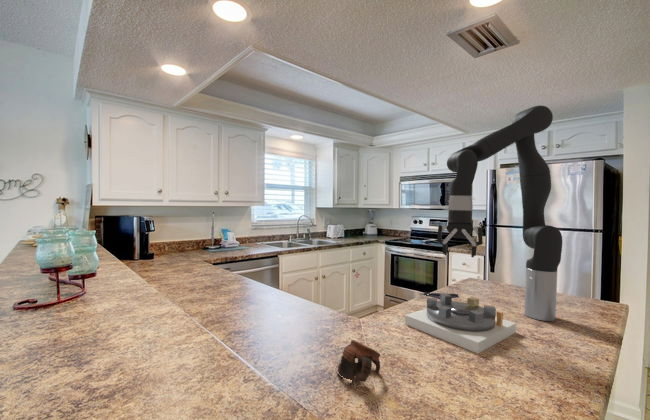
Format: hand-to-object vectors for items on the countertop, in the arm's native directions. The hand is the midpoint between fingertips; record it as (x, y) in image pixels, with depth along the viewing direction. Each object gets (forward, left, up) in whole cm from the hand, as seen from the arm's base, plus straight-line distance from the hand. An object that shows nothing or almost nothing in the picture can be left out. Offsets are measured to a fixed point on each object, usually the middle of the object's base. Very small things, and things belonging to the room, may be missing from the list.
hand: (458, 256), depth 106 cm
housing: (+7, +5, -22) cm, 24 cm away
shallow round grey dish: (+7, +5, -19) cm, 21 cm away
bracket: (-16, -14, -23) cm, 31 cm away
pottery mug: (+52, +6, -22) cm, 57 cm away
